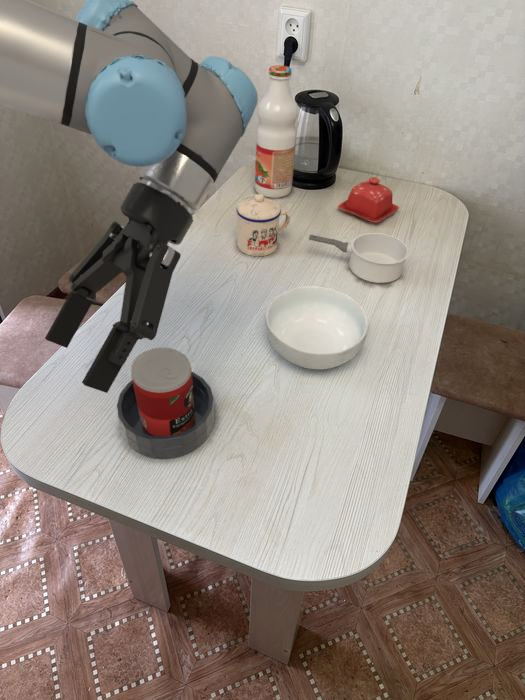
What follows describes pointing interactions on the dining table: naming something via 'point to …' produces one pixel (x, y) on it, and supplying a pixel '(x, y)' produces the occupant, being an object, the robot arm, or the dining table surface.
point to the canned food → (164, 391)
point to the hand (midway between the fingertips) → (73, 363)
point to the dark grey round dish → (174, 443)
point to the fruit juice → (276, 136)
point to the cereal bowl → (316, 326)
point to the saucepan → (373, 255)
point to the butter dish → (370, 201)
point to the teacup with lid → (259, 225)
